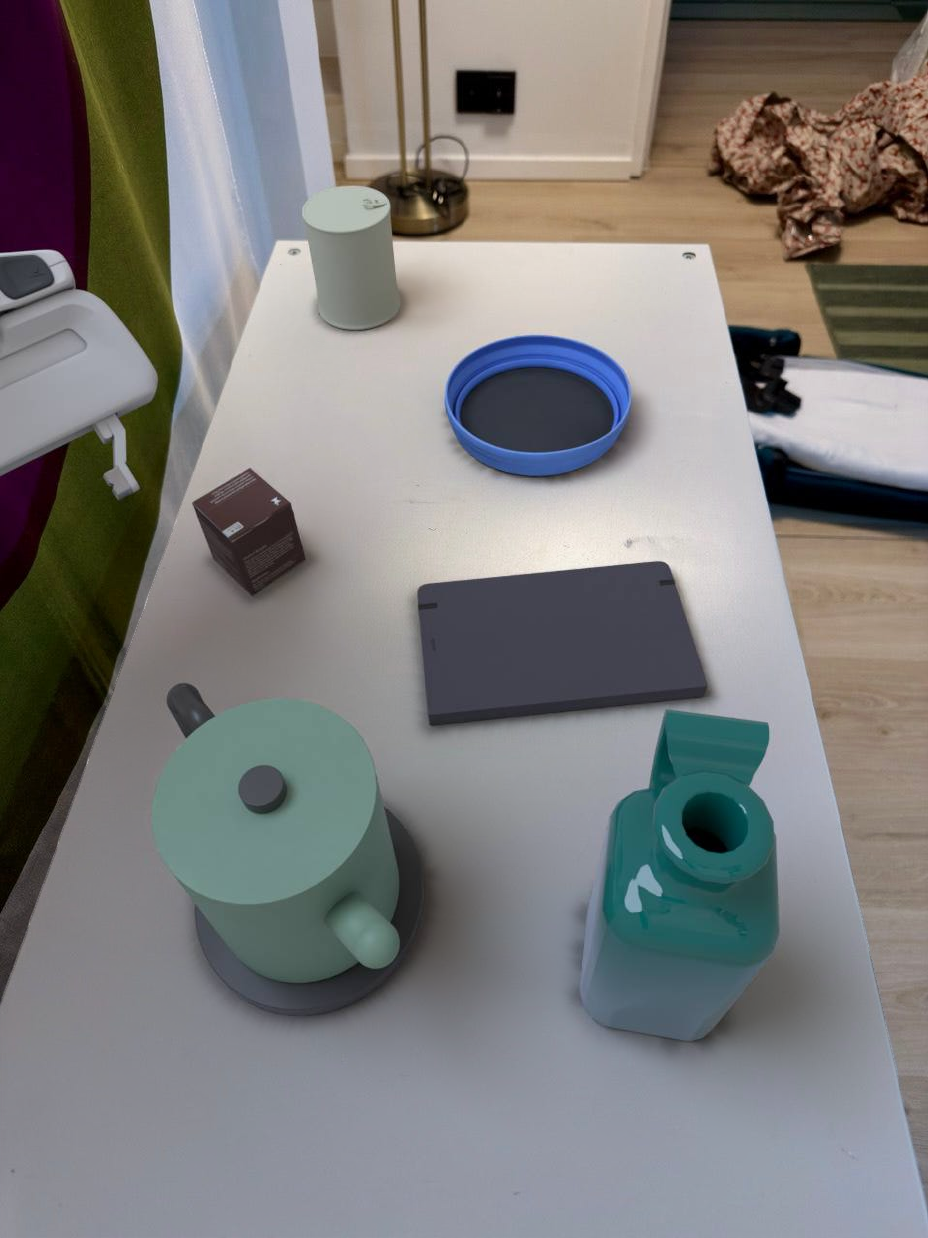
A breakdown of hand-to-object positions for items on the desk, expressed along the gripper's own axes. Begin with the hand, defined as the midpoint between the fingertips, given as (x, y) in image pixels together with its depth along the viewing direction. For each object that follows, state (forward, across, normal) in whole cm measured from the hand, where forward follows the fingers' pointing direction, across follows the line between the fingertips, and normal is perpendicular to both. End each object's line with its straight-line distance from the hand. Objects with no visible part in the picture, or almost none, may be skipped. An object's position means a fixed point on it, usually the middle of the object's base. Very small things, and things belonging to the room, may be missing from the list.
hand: (60, 530), depth 56 cm
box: (+9, +13, +18) cm, 24 cm away
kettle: (+27, +1, -4) cm, 28 cm away
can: (-8, +41, +37) cm, 56 cm away
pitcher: (+41, +15, -14) cm, 46 cm away
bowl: (+11, +44, +17) cm, 48 cm away
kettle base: (+29, 0, -3) cm, 29 cm away
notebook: (+26, +27, +2) cm, 37 cm away
